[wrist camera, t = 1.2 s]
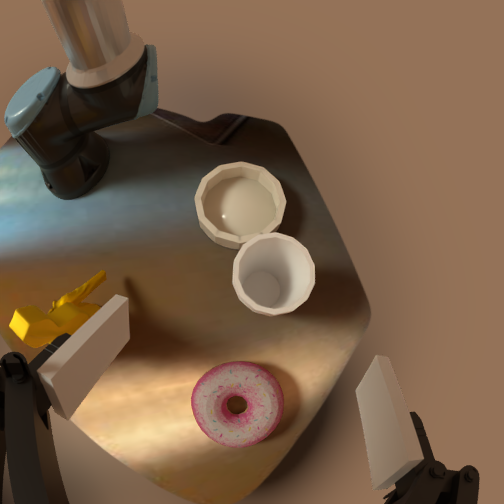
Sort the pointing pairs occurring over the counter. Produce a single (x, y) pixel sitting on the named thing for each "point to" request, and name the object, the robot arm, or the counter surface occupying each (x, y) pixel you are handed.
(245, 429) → the donut
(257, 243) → the foam cup
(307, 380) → the counter surface
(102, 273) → the figure statuette
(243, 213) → the dish
